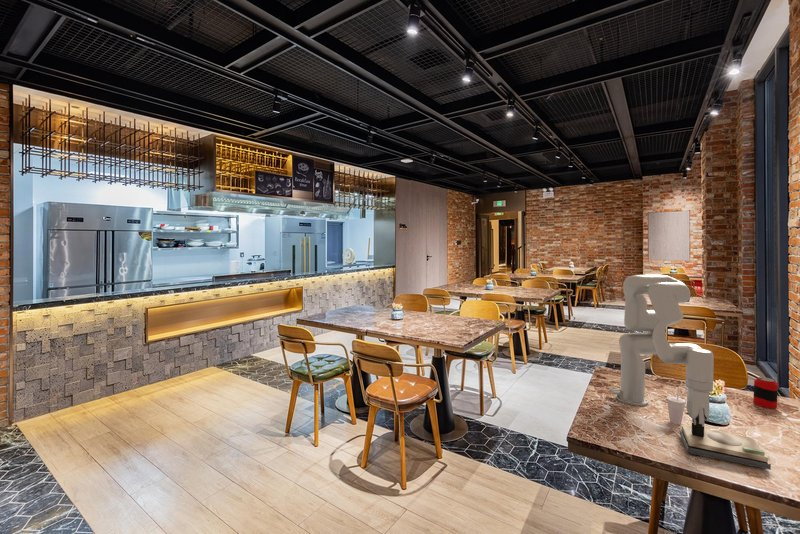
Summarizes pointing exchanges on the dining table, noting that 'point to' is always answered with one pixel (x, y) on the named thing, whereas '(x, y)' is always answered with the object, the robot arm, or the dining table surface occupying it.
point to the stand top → (725, 443)
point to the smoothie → (676, 408)
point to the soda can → (765, 393)
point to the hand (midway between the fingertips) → (697, 435)
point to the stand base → (722, 455)
